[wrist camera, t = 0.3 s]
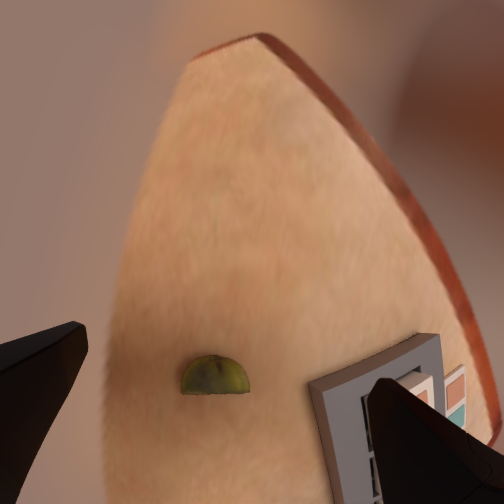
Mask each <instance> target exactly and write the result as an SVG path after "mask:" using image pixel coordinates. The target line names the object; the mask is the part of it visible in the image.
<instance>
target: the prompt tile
mask: <svg viewBox="0 0 504 504" xmlns="http://www.w3.org/2000/svg"><path fill="white" fill-rule="evenodd" d="M444 384H445V409H446V418H447V419H449V420H450V421H452V422H453V423H454V424H456V425H457V426H459V427H460V428H461V429H464V428H465V422H466V374H465V365H464V364H461V365H460V366H459V367H457V368H456V369H455V370H453V371H452V372H451V373H449V374H448V375H447V376H445V377H444Z"/></svg>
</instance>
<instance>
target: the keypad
mask: <svg viewBox="0 0 504 504" xmlns="http://www.w3.org/2000/svg"><path fill="white" fill-rule="evenodd" d="M410 371H415V372H419V373H424V374H428V375H432V378H433V390H434V408H435V410H436V411H438V412H439V413H440V414H442V415H443V416H445V417H446V409H445V384H444V370H443V360H442V350H441V342H440V335H439V334H431V333H417V334H416V335H414V336H412V337H410V338H408V339H406V340H404V341H402V342H400V343H399V344H397V345H395V346H393V347H391V348H389V349H386V350H384V351H382V352H380V353H378V354H376V355H374V356H372V357H370V358H367V359H365V360H363V361H361V362H358V363H356V364H354V365H351V366H349V367H347V368H344V369H342V370H340V371H337V372H335V373H332V374H330V375H327V376H324V377H322V378H319V379H317V380H314V381H311V382H308V385H309V389H310V393H311V397H312V402H313V406H314V410H315V414H316V419H317V423H318V427H319V432H320V436H321V441H322V445H323V450H324V454H325V459H326V463H327V468H328V473H329V477H330V482H331V487H332V491H333V496H334V501H335V504H376V501H377V500H379V499H381V498H382V496H381V495H380V494H379V493H378V492H377V491H376V490H375V480H374V470H373V460H372V457H374V452H373V447H372V445H371V444H370V436H369V429H368V422H367V415H366V409H365V403H364V397H363V396H364V395H367V394H369V393H370V391H371V390H372V388H373V386H374V385H375V383H376V381H377V380H378V379H379V378H381V377H387V378H392V379H393V380H396V379H397V378H399V377H401V376H403V375H404V374H406V373H408V372H410Z"/></svg>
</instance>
